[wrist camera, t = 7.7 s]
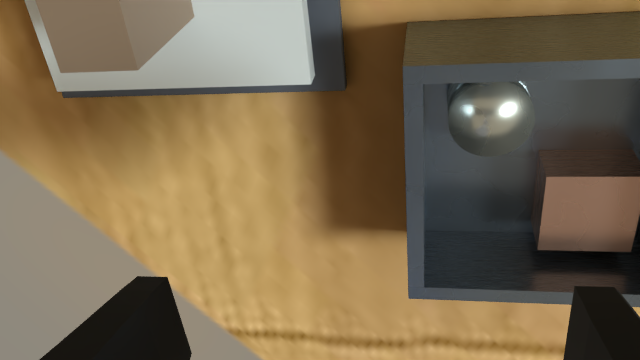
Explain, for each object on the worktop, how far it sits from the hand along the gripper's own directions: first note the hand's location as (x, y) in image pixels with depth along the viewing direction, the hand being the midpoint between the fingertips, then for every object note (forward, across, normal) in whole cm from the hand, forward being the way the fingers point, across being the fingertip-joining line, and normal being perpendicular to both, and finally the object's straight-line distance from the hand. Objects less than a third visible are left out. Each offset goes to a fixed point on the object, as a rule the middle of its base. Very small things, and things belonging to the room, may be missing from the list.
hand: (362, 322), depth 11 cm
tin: (+10, -4, +2) cm, 11 cm away
